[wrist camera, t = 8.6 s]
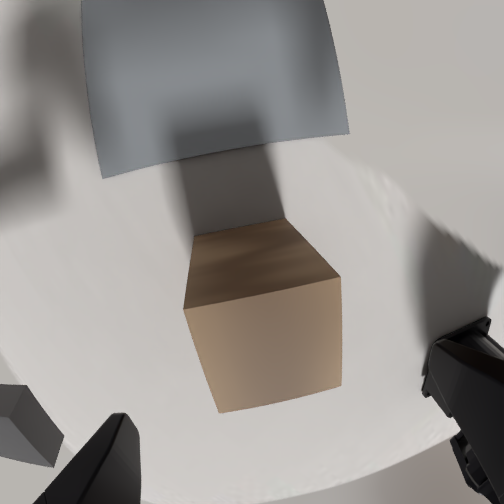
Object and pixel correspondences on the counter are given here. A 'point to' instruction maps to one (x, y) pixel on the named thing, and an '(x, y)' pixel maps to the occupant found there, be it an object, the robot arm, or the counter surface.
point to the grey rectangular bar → (26, 428)
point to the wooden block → (263, 315)
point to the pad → (207, 77)
